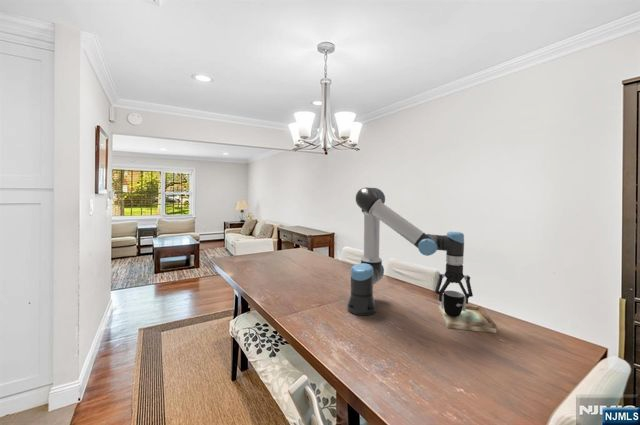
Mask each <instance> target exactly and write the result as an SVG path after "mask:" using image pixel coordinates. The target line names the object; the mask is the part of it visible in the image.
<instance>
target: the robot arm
mask: <svg viewBox="0 0 640 425" xmlns="http://www.w3.org/2000/svg"><path fill="white" fill-rule="evenodd" d="M355 194H356V195H355V203H356V205H357V206H358V207H359V208H360V209H361V213H362V214H363V215H364V218H363V220H364V221H363V257H362V258H360V263H356V264H354V265H353V266H351V268H350V295H349V299H348V301H347V306H346V308H347V311H348V312H349V313H351V314H354V315H357V316H371V315H373V314H375V313H376V312H377V305H376V302H375V298H374V285H375V284H376V283H377V282H379V281H380V280H382V278H383V276H384V274H385V267H384V265H382V264H383V262H382V261H383V260H382V258H381V257H380V231H381V230H380V229H381V228H380V226H381V225H380V222H382V223H384V224H385V225H386V226H387V227H389V228H390V229H392V230H393V231H395V232H396V233H397V234H399V235H400V236H401V237H403V239H405V240H407V242H409V243H410V244H412V245H413V246H415V247H416V248H417V249H418V251H419V252H420V253H421V255H423V256H432V255H434V254H435V253H436V252H437V251H444V252H446V253H445V254H446V255H445V262H446V264H445V273H440V272H439V273H438V280H437V283H436V286H435V290H434V292H435V294H437V295H438V301H439V302H440V306H441V308H442V309H443V306H444V291H447V290H446V289H447V288H448V286H449V285H450V284H458V285H459V287H460V289H461V292H462V294H463V295H464V302H463V308H462V309H463V310H464V311H466V305H468V304H469V298H471V297H473V296H474V294H473V290H472V286H471V277H470V275H468V274H465V275H464V265H463V264H464V252H465V251H464V250H465V235H464V233H463V232H461V231H460V232H459V231H447V233H446V235H441V234H430V233H427V234H426V233H425V232H423V230H421V229H419V228H418V227H417V226H415V225H414V224H413V223H411V222H409V221H408V220H407V219H405V218H404V217H403V216H401V215H400V214H399V213H397V212H396V211H394V210H393V209H392V208H391V207H389V206H387V205H386V204H385V203H386V195H385V193H384V192H383V190H381V189H379V188H377V187H362V188H360V189H359V190H357V192H356V193H355ZM445 278H446V279H445ZM443 279H445V281H444V284H443V285H442V283H443ZM463 279H464V280H465V284H466V288H467V290H466V289H465V287H464V284H463V283H462V280H463ZM441 286H442V287H441Z"/></svg>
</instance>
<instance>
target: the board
mask: <svg viewBox="0 0 640 425" xmlns="http://www.w3.org/2000/svg"><path fill="white" fill-rule="evenodd" d="M438 311H439V313H440V315H441V317H442V319H443V321H444V324H445V325H446V328H448V329H457V330H465V331H476V332H485V333H492V334H497V326H498V325H497V324H496V323H495V321H494V320H493V319H492V318H491V317H490V315H488V313H487V312H486V311H485V310H484V309H483V308H482V306H479V305H468V304H466V311H464V310H463V309H462V311H461V314H460V315H459V316H457V317H454V316H450V315H447V314H446V313H445V311H444V306H443V309H442V308H441V304H440V305H438Z"/></svg>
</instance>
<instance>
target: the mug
mask: <svg viewBox="0 0 640 425" xmlns="http://www.w3.org/2000/svg"><path fill="white" fill-rule="evenodd" d="M443 295H444V311H445V313H446V314H447V315H450V316H454V317H457V316H459V315H460V314H461V311H462V308H463V302H464V296H465V295H464V293H463V292H459V291H457V290H451V289H450V290H445V291H444V293H443Z"/></svg>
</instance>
